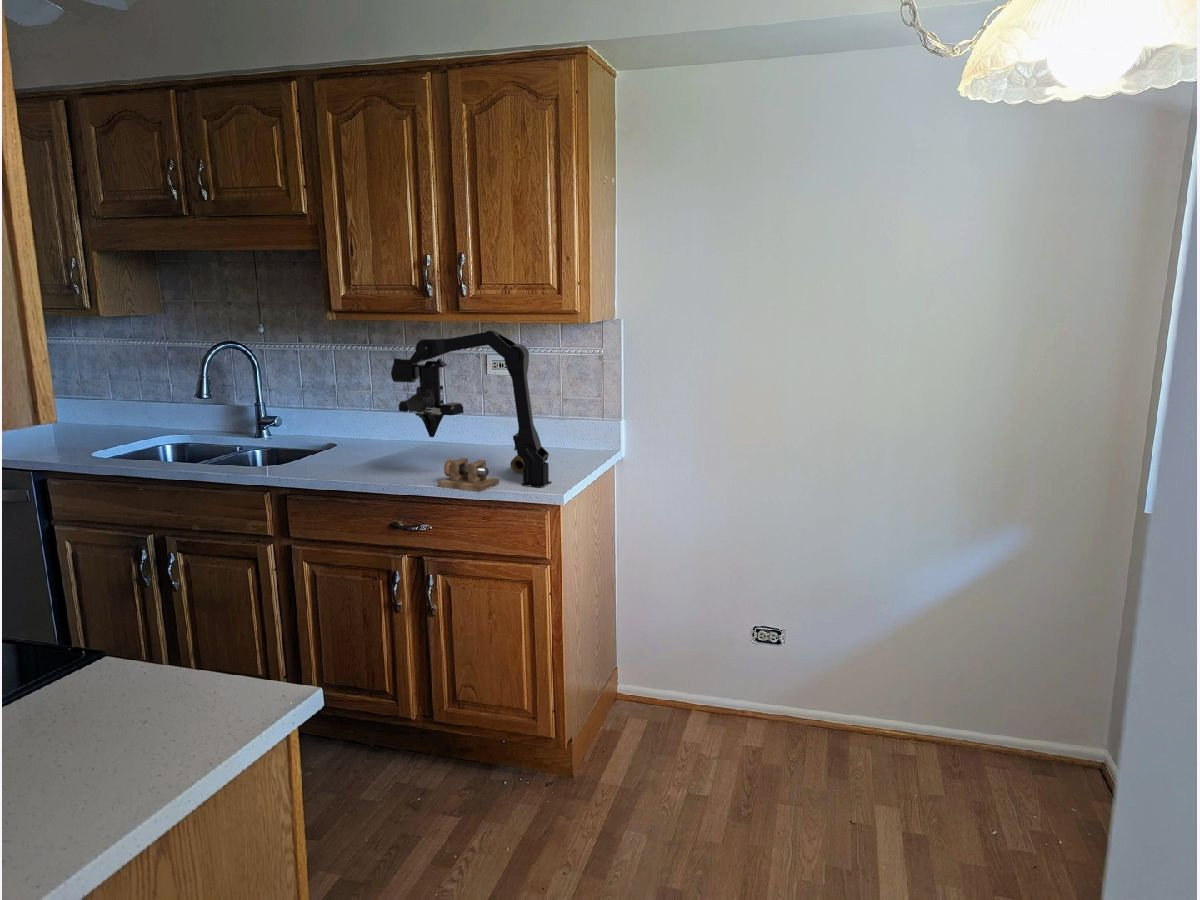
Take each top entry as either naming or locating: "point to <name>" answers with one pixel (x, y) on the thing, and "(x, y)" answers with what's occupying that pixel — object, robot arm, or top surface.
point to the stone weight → (517, 464)
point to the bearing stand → (467, 477)
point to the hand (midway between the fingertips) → (431, 437)
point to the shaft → (464, 469)
